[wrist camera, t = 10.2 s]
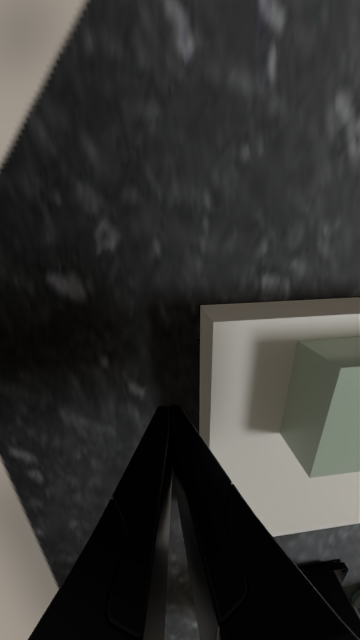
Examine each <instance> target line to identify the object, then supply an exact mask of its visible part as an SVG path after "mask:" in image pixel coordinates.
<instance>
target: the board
mask: <svg viewBox="0 0 360 640" xmlns="http://www.w3.org/2000/svg"><path fill="white" fill-rule="evenodd" d="M355 336H360V297H354V298H334V299H314V300H295V301H275V302H256V303H236V304H216V305H200V411H199V434H200V435H201V437H202V438H203V440H204V441H205V443H206V444H207V446H208V447H209V449H210V450H211V452H212V453H213V455H214V456H215V457H216V459H217V460H218V462H219V463H220V465H221V466H222V468H223V469H224V471H225V472H226V474H227V475H228V476H229V478H230V479H231V481H232V484H234V485H235V487H236V488H237V489H238V491H239V492H240V494H241V495H242V497H243V498H244V500H245V501H246V502H247V504H248V505H249V506H250V508H251V509H252V511H253V512H254V513H255V515H256V516H257V517H258V519H259V520H260V521H261V523H262V524H263V525H264V526H265V528H266V529H267V530H268V531H269V533H270V534H271V535H272V536H273V537H274V536H280V535H286V534H293V533H299V532H306V531H312V530H319V529H325V528H332V527H338V526H344V525H351V524H357V523H360V471H359V472H351V473H344V474H336V475H329V476H321V477H313V478H309V476H308V475H307V473H306V472H305V470H304V469H303V467H302V466H301V464H300V463H299V461H298V460H297V458H296V457H295V455H294V454H293V452H292V451H291V449H290V448H289V446H288V445H287V443H286V442H285V440H284V439H283V437H282V436H281V434H280V430H281V425H282V419H283V414H284V409H285V403H286V398H287V393H288V388H289V382H290V377H291V372H292V367H293V361H294V356H295V351H296V346H297V340H312V339H326V338H341V337H355Z"/></svg>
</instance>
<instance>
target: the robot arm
mask: <svg viewBox="0 0 360 640" xmlns="http://www.w3.org/2000/svg"><path fill="white" fill-rule="evenodd" d="M169 416H170V418H169ZM170 434H171V436H170ZM171 452H172V454H171ZM172 467H173V476H174V482H175V489H176V495H177V501H178V507H179V513H180V519H181V526H182V532H183V538H184V544H185V550H186V556H187V562H188V569H189V575H190V581H191V587H192V593H193V599H194V605H195V612H196V618H197V624H198V630H199V636H200V640H360V618H359V616H358V614H357V612H356V611H355V609H354V607H353V605H352V603H351V601H350V600H349V598H348V596H347V594H346V592H345V590H344V589H343V587H342V585H341V584H342V582H343V580H344V578H345V576H346V574H347V572H348V568H347V566H346V565H345V563H343V562H341V563H336V564H330V565H324V566H318V567H312V568H306V569H301V570H300V569H299V568H298V567H297V566H296V564H295V563H294V562H293V561H292V560H291V558H290V557H289V556H288V555H287V553H286V552H285V551H284V550H283V549H282V547H281V546H280V545H279V544H278V543H277V541H276V540H275V539H274V538H273V536H272V535H271V534H270V533H269V531H268V530H267V529H266V528H265V526H264V525H263V524H262V523H261V521H260V520H259V519H258V517H257V516H256V515H255V513H254V512H253V511H252V509H251V508H250V506H249V505H248V504H247V502H246V501H245V500H244V498H243V497H242V495H241V494H240V492H239V491H238V489H237V488H236V487H235V485H234V484H232V481H231V479H230V478H229V476H228V475H227V474H226V472H225V471H224V469H223V468H222V466H221V465H220V463H219V462H218V460H217V459H216V457H215V456H214V455H213V453H212V452H211V450H210V449H209V447H208V446H207V444H206V443H205V441H204V440H203V438H202V437H201V435H200V434H199V433H198V431H197V430H196V428H195V427H194V425H193V424H192V422H191V421H190V419H189V418H188V416H187V415H186V413H185V412H184V411H183V409H182V408H181V406H180V405H178V404H177V405H170V406H167V405H166V406H159V407H158V408H157V410H156V412H155V414H154V416H153V418H152V420H151V421H150V423H149V425H148V427H147V429H146V431H145V433H144V435H143V437H142V439H141V441H140V443H139V445H138V447H137V449H136V451H135V453H134V455H133V457H132V458H131V460H130V462H129V464H128V466H127V468H126V470H125V472H124V474H123V476H122V478H121V480H120V482H119V484H118V486H117V488H116V490H115V492H114V493H113V495H112V499H111V500H110V501H109V503H108V505H107V507H106V509H105V511H104V513H103V515H102V517H101V518H100V520H99V522H98V524H97V526H96V528H95V529H94V531H93V533H92V535H91V537H90V539H89V540H88V542H87V544H86V546H85V547H84V549H83V551H82V552H81V554H80V556H79V557H78V559H77V561H76V562H75V564H74V566H73V567H72V569H71V571H70V572H69V574H68V576H67V577H66V579H65V580H64V582H63V584H62V585H61V587H60V589H59V590H58V592H57V593H56V595H55V597H54V598H53V600H52V601H51V603H50V605H49V606H48V608H47V610H46V611H45V613H44V614H43V616H42V618H41V619H40V621H39V622H38V624H37V626H36V627H35V629H34V631H33V632H32V634H31V635H30V637H29V639H28V640H164V634H165V613H166V593H167V572H168V551H169V531H170V510H171V490H172Z"/></svg>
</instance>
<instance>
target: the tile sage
mask: <svg viewBox="0 0 360 640" xmlns="http://www.w3.org/2000/svg"><path fill="white" fill-rule="evenodd" d="M280 434H281V436H282V437H283V439H284V440H285V442H286V443H287V445H288V446H289V448H290V449H291V451H292V452H293V454H294V455H295V457H296V458H297V460H298V461H299V463H300V464H301V466H302V467H303V469H304V470H305V472H306V473H307V475H308V476H309V478H313V477H321V476H329V475H336V474H344V473H351V472H359V471H360V336H355V337H341V338H326V339H312V340H297V346H296V351H295V356H294V361H293V367H292V372H291V377H290V382H289V388H288V393H287V398H286V403H285V409H284V414H283V419H282V425H281V430H280Z"/></svg>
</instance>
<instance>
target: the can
mask: <svg viewBox="0 0 360 640" xmlns="http://www.w3.org/2000/svg"><path fill="white" fill-rule="evenodd" d="M351 598H352V600H351V601H352V603H353V604H354V606H355V608H356V610H357V612H358V613H359V615H360V589H358V590H357V591H356V592H355V593H354V594H353V596H352V597H351Z"/></svg>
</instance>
